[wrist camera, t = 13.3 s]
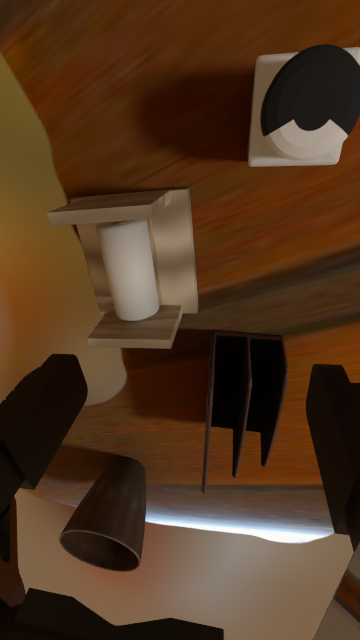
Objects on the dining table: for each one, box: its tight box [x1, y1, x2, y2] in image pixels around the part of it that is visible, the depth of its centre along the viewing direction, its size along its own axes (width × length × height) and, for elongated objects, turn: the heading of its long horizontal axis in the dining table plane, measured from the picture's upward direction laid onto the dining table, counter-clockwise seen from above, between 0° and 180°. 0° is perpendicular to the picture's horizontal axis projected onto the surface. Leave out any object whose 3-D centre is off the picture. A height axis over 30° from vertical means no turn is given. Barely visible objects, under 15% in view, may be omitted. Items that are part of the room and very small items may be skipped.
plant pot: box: [59, 457, 146, 572], centre depth 58 cm, size 15×15×16 cm
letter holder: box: [201, 331, 288, 493], centre depth 41 cm, size 10×20×14 cm, turn 0°
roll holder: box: [47, 187, 198, 349], centre depth 34 cm, size 15×14×10 cm
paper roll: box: [96, 219, 159, 321], centre depth 34 cm, size 11×6×6 cm, turn 5°
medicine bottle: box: [247, 45, 360, 167], centre depth 23 cm, size 7×7×12 cm
